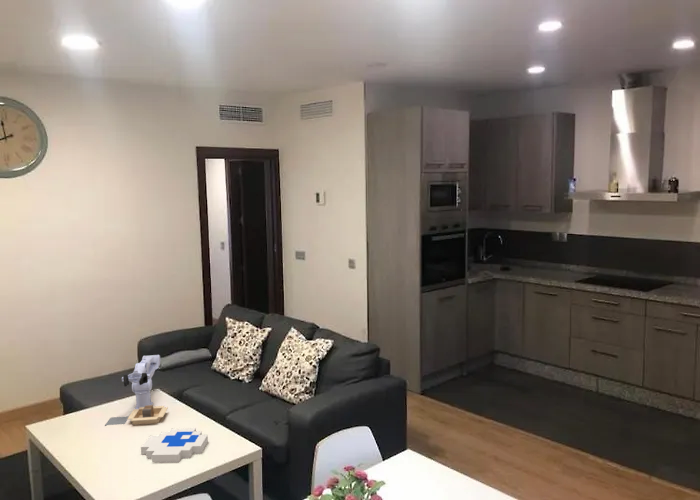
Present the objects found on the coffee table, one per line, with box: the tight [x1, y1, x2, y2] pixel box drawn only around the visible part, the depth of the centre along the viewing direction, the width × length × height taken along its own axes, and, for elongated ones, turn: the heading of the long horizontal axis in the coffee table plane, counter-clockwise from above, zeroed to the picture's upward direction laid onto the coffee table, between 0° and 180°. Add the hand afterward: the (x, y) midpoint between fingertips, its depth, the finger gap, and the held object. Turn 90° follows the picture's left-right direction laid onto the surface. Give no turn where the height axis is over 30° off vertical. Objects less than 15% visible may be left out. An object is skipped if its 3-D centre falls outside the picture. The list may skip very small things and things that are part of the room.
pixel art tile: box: [140, 427, 209, 463], centre depth 277 cm, size 28×4×28 cm
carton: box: [127, 405, 169, 425], centre depth 311 cm, size 18×18×4 cm
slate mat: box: [104, 415, 130, 427], centre depth 310 cm, size 10×10×1 cm
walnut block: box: [142, 404, 154, 418], centre depth 311 cm, size 7×4×6 cm, turn 6°
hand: (132, 383), depth 307 cm, fingers open, 7 cm apart
